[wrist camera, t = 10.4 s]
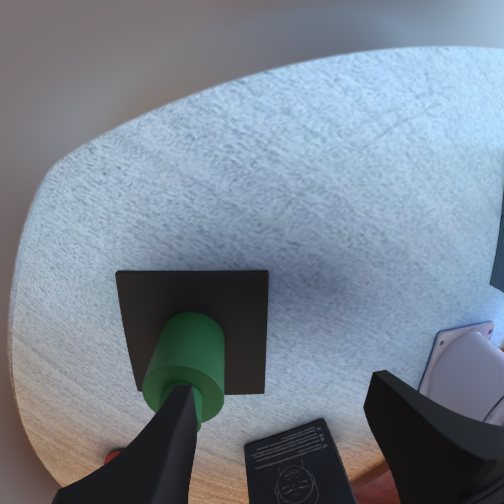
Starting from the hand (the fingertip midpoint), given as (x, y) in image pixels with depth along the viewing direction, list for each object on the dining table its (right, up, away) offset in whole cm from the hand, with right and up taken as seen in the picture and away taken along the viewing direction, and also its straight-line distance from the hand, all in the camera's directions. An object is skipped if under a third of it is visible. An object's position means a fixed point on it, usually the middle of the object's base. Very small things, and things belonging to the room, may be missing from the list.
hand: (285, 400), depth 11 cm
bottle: (-5, 0, +9) cm, 11 cm away
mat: (-5, 0, +10) cm, 11 cm away
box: (+3, -13, +14) cm, 19 cm away
